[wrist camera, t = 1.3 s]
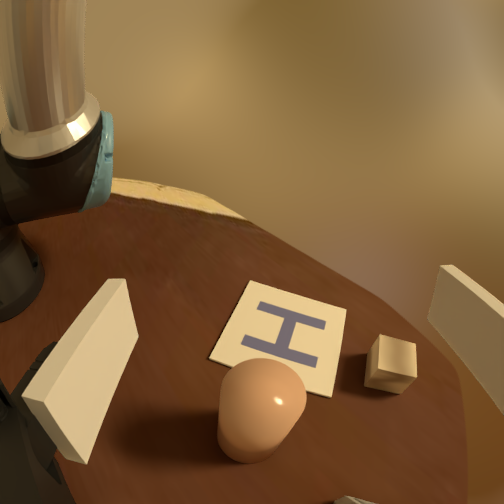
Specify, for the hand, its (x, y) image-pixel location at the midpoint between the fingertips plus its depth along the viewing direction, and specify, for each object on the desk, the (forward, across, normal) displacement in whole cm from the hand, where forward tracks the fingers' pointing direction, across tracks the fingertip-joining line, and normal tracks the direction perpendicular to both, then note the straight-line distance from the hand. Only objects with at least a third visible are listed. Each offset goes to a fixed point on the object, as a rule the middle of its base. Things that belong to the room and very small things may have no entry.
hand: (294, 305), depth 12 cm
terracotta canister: (+8, -2, -19) cm, 21 cm away
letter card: (+20, +3, -16) cm, 26 cm away
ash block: (+15, +14, -20) cm, 28 cm away
